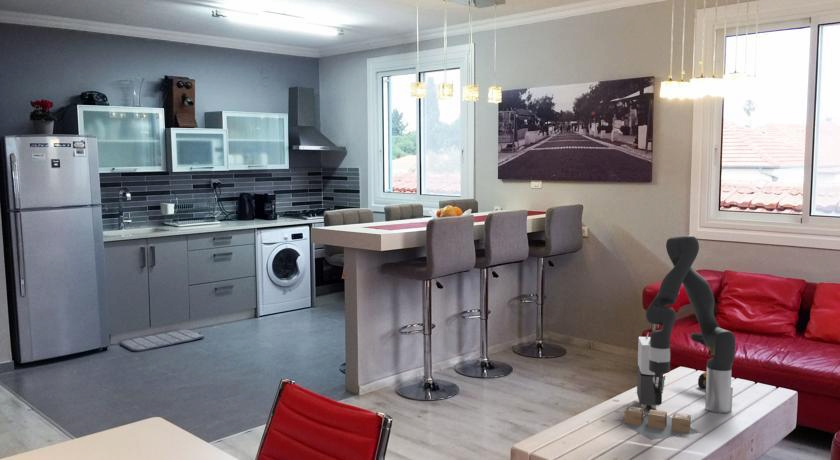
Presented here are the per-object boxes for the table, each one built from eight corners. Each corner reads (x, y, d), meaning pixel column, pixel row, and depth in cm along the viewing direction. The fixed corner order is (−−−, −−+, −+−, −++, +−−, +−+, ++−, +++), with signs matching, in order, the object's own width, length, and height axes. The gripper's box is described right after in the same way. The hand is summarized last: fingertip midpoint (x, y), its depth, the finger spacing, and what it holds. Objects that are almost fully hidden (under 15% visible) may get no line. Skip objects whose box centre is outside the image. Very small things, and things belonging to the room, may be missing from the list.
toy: (659, 412, 291) (661, 338, 289) (640, 411, 293) (642, 337, 290) (655, 400, 306) (657, 330, 303) (636, 399, 307) (638, 329, 305)
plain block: (650, 422, 279) (650, 409, 278) (666, 424, 276) (667, 411, 276) (647, 427, 273) (648, 414, 273) (664, 429, 271) (664, 416, 270)
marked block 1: (627, 418, 282) (627, 405, 282) (643, 421, 280) (643, 407, 279) (624, 423, 277) (625, 410, 276) (640, 426, 274) (641, 412, 274)
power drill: (692, 379, 336) (694, 326, 334) (733, 391, 318) (735, 335, 316) (681, 382, 332) (683, 328, 330) (722, 394, 314) (724, 338, 312)
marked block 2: (673, 425, 275) (673, 412, 274) (690, 428, 272) (690, 414, 272) (671, 430, 270) (671, 417, 269) (688, 433, 267) (689, 419, 266)
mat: (662, 414, 289) (662, 413, 289) (701, 434, 268) (701, 432, 268) (615, 421, 281) (615, 419, 281) (650, 441, 261) (651, 439, 261)
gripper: (651, 353, 280) (650, 397, 281) (646, 361, 268) (645, 407, 269) (672, 355, 277) (671, 400, 278) (667, 364, 265) (666, 410, 266)
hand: (658, 403), depth 274 cm, fingers closed
